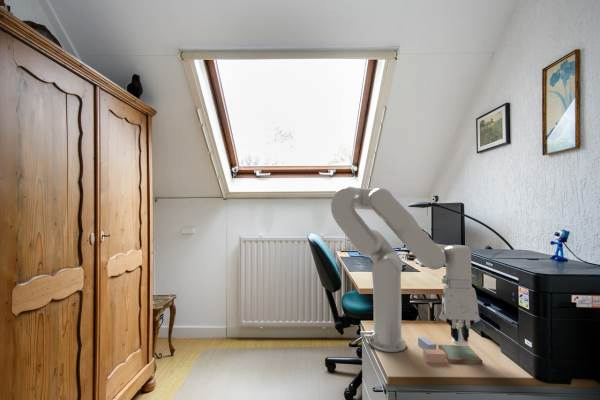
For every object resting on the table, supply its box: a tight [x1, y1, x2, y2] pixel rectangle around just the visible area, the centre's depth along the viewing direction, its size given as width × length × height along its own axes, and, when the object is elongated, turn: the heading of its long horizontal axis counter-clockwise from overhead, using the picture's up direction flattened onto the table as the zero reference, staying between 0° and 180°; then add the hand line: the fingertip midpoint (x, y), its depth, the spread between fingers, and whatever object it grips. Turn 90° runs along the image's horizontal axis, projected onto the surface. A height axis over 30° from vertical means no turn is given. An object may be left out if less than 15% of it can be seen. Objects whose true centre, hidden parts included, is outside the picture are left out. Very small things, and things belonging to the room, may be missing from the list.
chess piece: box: [451, 320, 470, 346], centre depth 102 cm, size 5×5×10 cm
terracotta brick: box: [422, 349, 447, 364], centre depth 99 cm, size 6×3×3 cm, turn 87°
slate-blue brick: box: [417, 336, 438, 350], centre depth 107 cm, size 6×3×3 cm, turn 12°
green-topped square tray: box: [437, 344, 483, 365], centre depth 102 cm, size 10×10×1 cm
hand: (459, 338), depth 102 cm, fingers closed on chess piece
